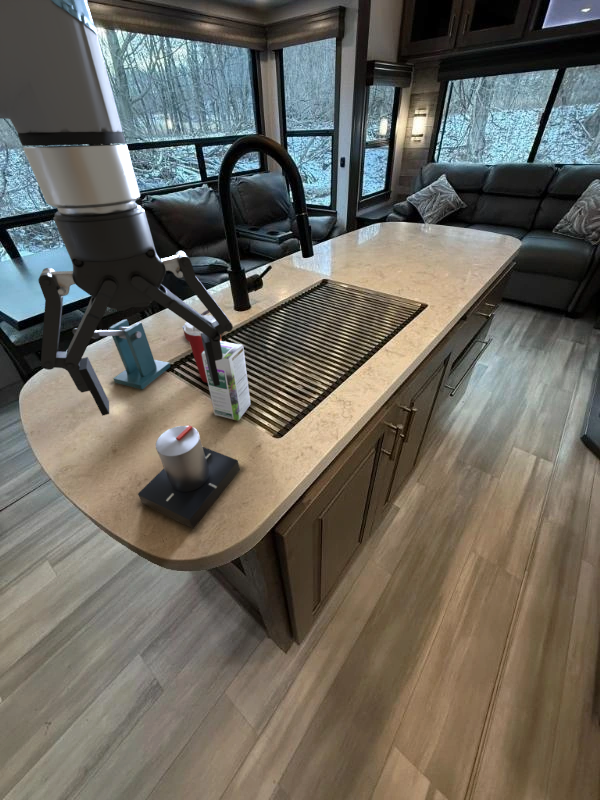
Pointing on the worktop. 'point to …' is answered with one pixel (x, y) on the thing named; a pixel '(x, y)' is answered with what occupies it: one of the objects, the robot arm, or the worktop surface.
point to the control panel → (192, 503)
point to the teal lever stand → (136, 357)
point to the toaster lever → (107, 333)
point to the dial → (183, 458)
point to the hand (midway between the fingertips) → (163, 393)
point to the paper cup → (197, 345)
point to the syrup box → (229, 382)
